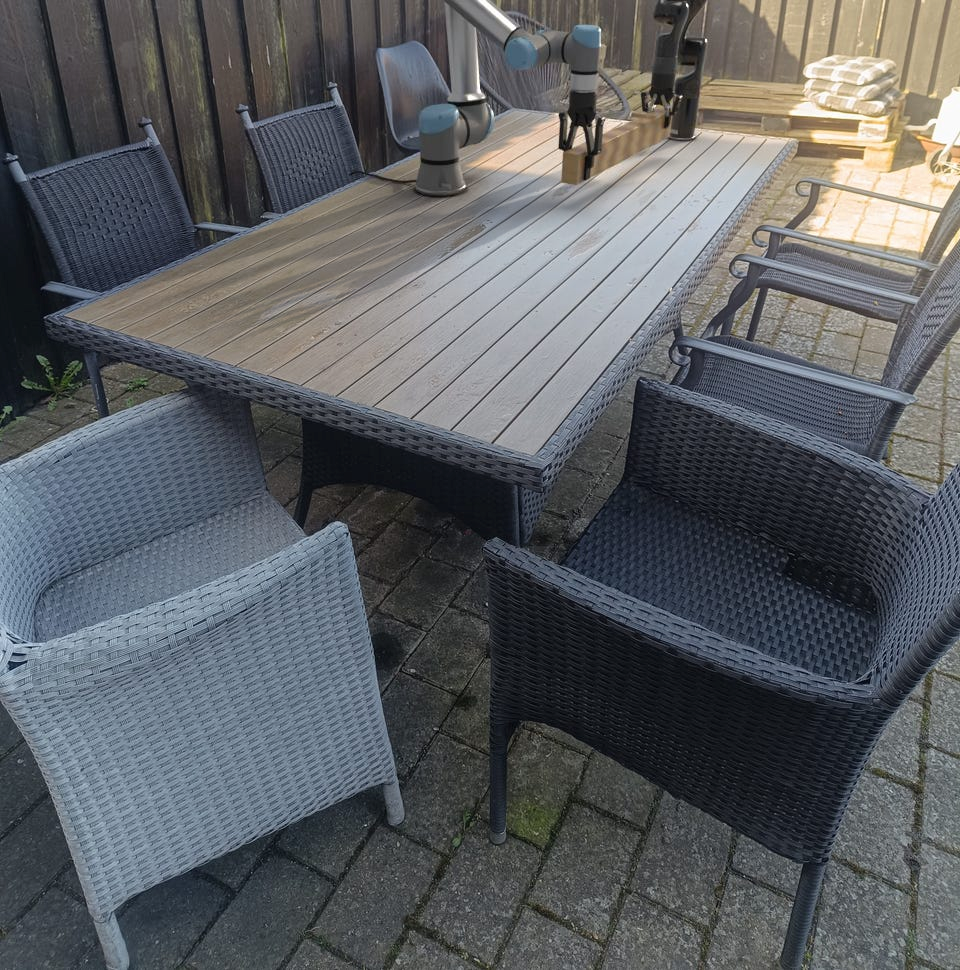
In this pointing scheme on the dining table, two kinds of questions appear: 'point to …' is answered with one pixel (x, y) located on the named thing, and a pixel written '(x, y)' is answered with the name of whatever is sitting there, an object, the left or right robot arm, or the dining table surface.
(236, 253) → the dining table surface
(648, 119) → the bar
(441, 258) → the dining table surface
